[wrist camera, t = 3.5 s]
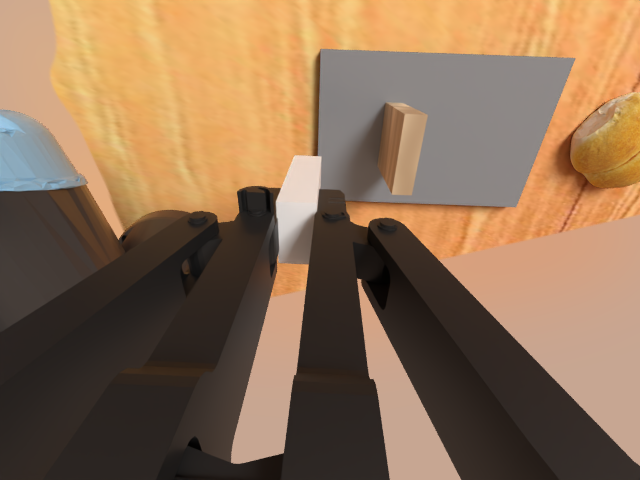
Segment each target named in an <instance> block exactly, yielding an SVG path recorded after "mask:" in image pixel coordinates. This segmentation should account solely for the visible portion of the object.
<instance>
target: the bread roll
mask: <svg viewBox="0 0 640 480" xmlns="http://www.w3.org/2000/svg"><path fill="white" fill-rule="evenodd" d="M570 159H571V163H572V165H573V167H574V168H575V170H577V171H578V172H580V173H582V174H583V175H584V176H585V177H586V179H587V180H588V181H589V182H590V183H591V184H592V185H594V186H595V187H599V188H620V187H626V186H630V185H632V184H635V183H638V182H640V92H633V93H628V94H625V95H622V96H619V97H617V98H615V99H612V100H610V101H608V102H606V103H605V104H604V105H603V106H601V107H600V108H599V109H598V110H597V111H595V112H594V113H593V114H591V115H590V116H589V117H588V118H587V119H586V120H585V121H584V122H583V123H582V124H581V126H580V127H579V128H578V129H577V130H576V132H575V133H574V135H573V137H572V141H571V151H570Z"/></svg>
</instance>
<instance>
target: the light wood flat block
mask: <svg viewBox="0 0 640 480" xmlns="http://www.w3.org/2000/svg"><path fill="white" fill-rule="evenodd" d="M427 117H428V115H427V114H425V113H423V112H421V111H419V110H417V109H414V108H412V107H410V106H408V105H406V104H404V103H390V102H386V104H385V112H384V119H383V127H382V135H381V142H380V150H379V157H378V165H377V166H378V168H379V170H380V172H381V174H382V176H383V178H384V180H385V182H386V184H387V186H388V188H389V190H390V192H391V194H392V195H412V192H413V187H414V182H415V177H416V172H417V167H418V162H419V157H420V152H421V147H422V142H423V137H424V132H425V127H426V122H427Z"/></svg>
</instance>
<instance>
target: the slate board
mask: <svg viewBox="0 0 640 480" xmlns="http://www.w3.org/2000/svg"><path fill="white" fill-rule="evenodd" d="M574 61H575V58H557V57H529V56H501V55H474V54H446V53H418V52H390V51H362V50H334V49H321V58H320V94H319V131H318V156H321V186H320V189H331V190H340V191H342V192H343V193H344V194H345V201H366V202H393V203H419V204H445V205H471V206H498V207H516V206H517V204H518V201H519V199H520V196H521V194H522V191H523V189H524V186H525V184H526V181H527V179H528V176H529V174H530V171H531V169H532V166H533V164H534V161H535V159H536V156H537V153H538V151H539V148H540V146H541V143H542V141H543V138H544V136H545V133H546V131H547V128H548V126H549V123H550V121H551V118H552V116H553V113H554V111H555V108H556V106H557V103H558V101H559V98H560V96H561V93H562V91H563V88H564V86H565V83H566V81H567V78H568V76H569V73H570V71H571V68H572V66H573V63H574ZM386 102H390V103H404V104H406V105H408V106H410V107H412V108H414V109H417V110H419V111H421V112H423V113H425V114H427V115H428V117H427V122H426V127H425V132H424V137H423V142H422V147H421V152H420V157H419V162H418V167H417V172H416V177H415V182H414V187H413V192H412V195H392V194H391V192H390V190H389V188H388V186H387V184H386V182H385V180H384V178H383V176H382V174H381V172H380V170H379V168H378V166H377V165H378V157H379V150H380V142H381V135H382V127H383V119H384V112H385V104H386Z"/></svg>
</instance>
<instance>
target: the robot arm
mask: <svg viewBox="0 0 640 480" xmlns="http://www.w3.org/2000/svg"><path fill="white" fill-rule="evenodd" d="M87 183H88V182H87V181H86V179H85V177H84V176H83V175H81V174H80V173H78V172H77V170H76V169H75V167H74V166H73V164H72V163H71V161H70V160H69V158H68V157H67V155H66V154H65V152H64V151H63V149H62V148H61V146H60V145H59V143H58V142H57V140H56V139H55V137H54V136H53V134H52V133H51V132H50V131H49V130H48V129H47V128H46V127H45V126H44V125H43V124H42V123H40V122H39V121H37V120H36V119H34V118H32V117H29V116H27V115H25V114H22V113H19V112H15V111H10V110H0V480H390V479H389V471H388V465H387V457H386V450H385V443H384V436H383V429H382V422H381V415H380V408H379V400H378V394H377V389H376V384H375V382H374V380H373V379H370V378H369V374H368V367H367V358H366V350H365V342H364V333H363V325H362V317H361V308H360V300H359V292H358V284H357V278H358V279H362V280H361V283H362V287H363V289H364V291H365V293H366V295H367V297H368V298H369V301H370V303H371V305H372V307H373V308H374V310H375V312H376V314H377V316H378V318H379V320H380V322H381V324H382V326H383V328H384V330H385V332H386V334H387V336H388V338H389V340H390V342H391V344H392V346H393V347H394V349H395V351H396V353H397V355H398V357H399V359H400V361H401V363H402V365H403V367H404V369H405V371H406V373H407V375H408V377H409V379H410V381H411V383H412V385H413V386H414V388H415V390H416V392H417V394H418V396H419V398H420V400H421V402H422V404H423V406H424V408H425V410H426V412H427V413H428V416H429V418H430V419H431V422H432V424H433V425H434V427H435V429H436V431H437V433H438V435H439V437H440V439H441V441H442V443H443V445H444V447H445V449H446V451H447V453H448V455H449V457H450V458H451V461H452V463H453V464H454V466H455V468H456V470H457V472H458V474H459V476H460V478H461V480H640V466H639V465H638V464H636V463H635V462H634V461H633V460H632V459H631V458H630V457H629V456H628V455H627V454H626V453H625V452H624V451H623V450H622V449H621V448H620V447H619V446H618V445H617V444H616V443H615V442H614V441H613V440H612V439H611V438H610V436H609V435H607V433H606V432H605V431H604V430H603V429H602V428H601V427H600V426H599V425H598V424H597V423H596V422H595V421H594V420H593V419H592V418H591V417H590V416H589V415H588V414H587V413H586V412H585V411H584V410H583V409H582V408H581V407H580V406H579V405H578V404H577V403H576V401H574V399H573V398H572V397H571V396H570V395H569V394H568V393H567V392H566V391H565V390H564V389H563V388H562V387H561V386H560V385H559V384H558V383H557V382H556V381H555V380H554V379H553V378H552V377H551V376H550V375H549V374H548V373H547V372H546V371H545V369H543V367H542V366H541V365H540V364H539V363H538V362H537V361H536V360H535V359H534V358H533V357H532V356H531V355H530V354H529V353H528V352H527V351H526V350H525V349H524V348H523V347H522V346H521V345H520V344H519V343H518V342H517V341H516V340H515V339H514V338H513V337H512V336H511V334H510V333H508V331H507V330H506V329H505V328H504V327H503V326H502V325H501V324H500V323H499V322H498V321H497V320H496V319H495V318H494V317H493V316H492V315H491V314H490V313H489V312H488V311H487V310H486V309H485V308H484V307H483V306H482V305H481V304H480V303H479V301H478V300H477V299H476V298H475V297H474V296H473V295H472V294H470V292H469V291H468V290H467V289H466V288H465V287H464V286H463V285H462V284H461V283H460V282H459V281H458V280H457V279H456V278H455V277H454V276H453V275H452V274H451V273H450V272H449V271H448V269H447V268H446V267H444V266H443V264H442V263H441V262H440V261H439V260H438V259H437V258H436V257H435V256H434V255H433V254H432V253H431V252H430V251H429V250H428V249H427V248H426V247H425V246H424V245H423V244H422V243H421V242H420V241H419V240H418V239H417V238H416V236H415V235H414V234H413V233H412V232H411V231H410V230H409V229H408V228H407V227H406V226H405V225H404V224H402V223H401V222H399V221H396V220H394V219H391V218H390V219H389V218H379V219H374V220H372V221H370V223H369V226H368V227H363V226H359V225H356V224H354V223H352V222H350V217H349V215H348V213H347V212H346V203H345V194H344V193H343V192H342V191H340V190H331V189H320V186H321V156H300V155H295V156H294V158H293V161H292V163H291V166H290V168H289V170H288V173H287V175H286V178H285V180H284V183H283V185H282V188H267V187H263V186H251V187H245V188H242V189H240V190H239V191H237V195H238V203H239V214H238V215H237V217H236V219H235V220H234V221H230V222H222V223H218V220H217V216H216V215H215V214H214V213H210V212H204V211H199V212H198V211H197V212H193V213H188V212H183V211H177V210H163V211H157V212H153V213H150V214H147V215H145V216H143V217H141V218H140V219H139V220H137V221H136V222H135V223H134V224H132V225H131V226H130V227H129V228H127V229H126V230H125V232H124V233H123V234H122V235H121V237H120V238H119V240H118V239H117V237H116V235H115V234H114V232H113V230H112V228H111V227H110V225H109V223H108V222H107V220H106V218H105V217H104V215H103V213H102V211H101V210H100V208H99V206H98V205H97V203H96V201H95V200H94V198H93V196H92V195H91V193H90V191H89V189H88V188H87V186H86V184H87ZM277 256H278V257H279V263H291V264H309V269H308V277H307V286H306V295H305V304H304V312H303V321H302V330H301V339H300V349H299V357H298V365H297V373H296V375H294V379H293V385H292V392H291V401H290V409H289V417H288V425H287V433H286V441H285V449H284V453H283V454H279V455H275V456H271V457H267V458H263V459H259V460H255V461H251V462H246V463H242V464H233V463H231V451H232V444H233V439H234V435H235V431H236V427H237V424H238V420H239V416H240V412H241V408H242V404H243V400H244V396H245V392H246V389H247V385H248V381H249V377H250V373H251V369H252V365H253V361H254V358H255V354H256V350H257V346H258V342H259V338H260V334H261V331H262V327H263V323H264V319H265V315H266V311H267V307H268V303H269V299H270V296H271V292H272V288H273V284H274V280H275V276H276V272H277Z"/></svg>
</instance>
